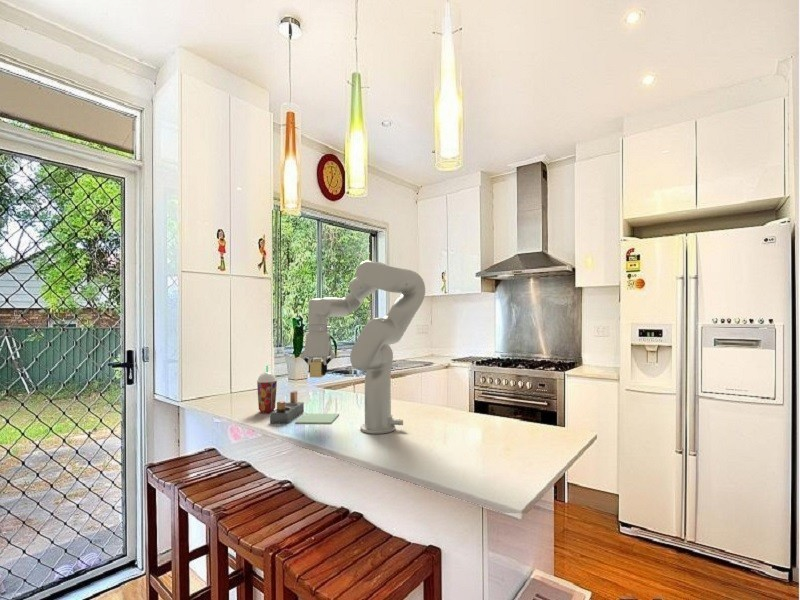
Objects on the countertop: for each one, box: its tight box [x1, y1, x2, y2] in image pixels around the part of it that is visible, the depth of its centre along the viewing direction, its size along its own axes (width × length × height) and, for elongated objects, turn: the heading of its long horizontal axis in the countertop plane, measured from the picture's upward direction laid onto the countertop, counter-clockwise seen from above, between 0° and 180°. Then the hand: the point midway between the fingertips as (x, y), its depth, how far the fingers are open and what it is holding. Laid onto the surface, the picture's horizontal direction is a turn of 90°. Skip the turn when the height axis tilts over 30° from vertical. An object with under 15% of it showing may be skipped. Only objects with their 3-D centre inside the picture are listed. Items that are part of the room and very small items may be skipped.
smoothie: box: [256, 365, 278, 414], centre depth 177 cm, size 8×8×20 cm
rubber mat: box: [295, 413, 340, 425], centre depth 163 cm, size 14×14×1 cm
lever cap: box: [309, 358, 327, 379], centre depth 164 cm, size 4×7×7 cm, turn 176°
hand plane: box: [269, 390, 305, 425], centre depth 167 cm, size 7×20×9 cm, turn 176°
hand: (317, 374), depth 163 cm, fingers closed on lever cap, 4 cm apart
